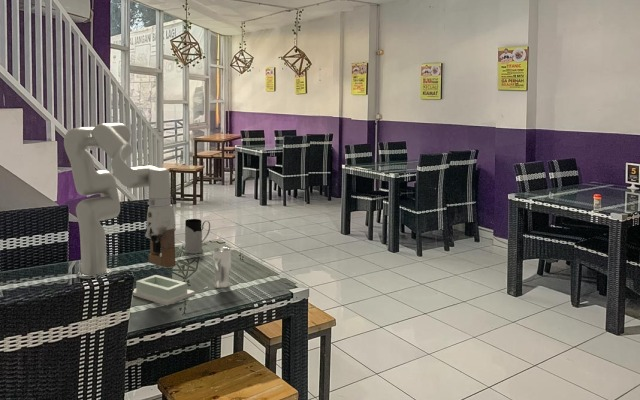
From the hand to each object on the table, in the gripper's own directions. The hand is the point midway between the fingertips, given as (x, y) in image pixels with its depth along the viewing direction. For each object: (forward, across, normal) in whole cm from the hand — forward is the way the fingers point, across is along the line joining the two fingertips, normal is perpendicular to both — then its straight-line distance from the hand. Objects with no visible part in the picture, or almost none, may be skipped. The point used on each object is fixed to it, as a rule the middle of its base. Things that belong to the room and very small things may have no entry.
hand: (161, 250), depth 201 cm
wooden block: (+5, 0, 0) cm, 5 cm away
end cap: (+17, 0, 0) cm, 17 cm away
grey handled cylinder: (+17, +53, +32) cm, 64 cm away
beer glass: (+17, +20, -12) cm, 29 cm away
